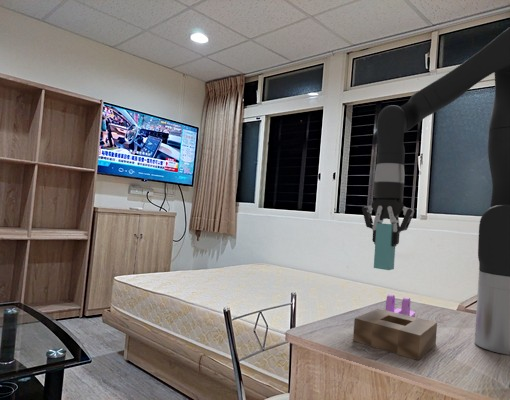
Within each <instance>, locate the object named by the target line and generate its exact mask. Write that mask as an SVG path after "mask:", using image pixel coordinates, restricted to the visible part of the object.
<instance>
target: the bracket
mask: <svg viewBox="0 0 510 400" xmlns="http://www.w3.org/2000/svg"><path fill="white" fill-rule="evenodd" d="M395 305H396V296H395V295H394V294H387V295H386V301H385V310H386V311H391V312H395V313H399V314H403V315H408V316H412V317H416V312H415V311H414V310H411V298H409V297H406V296H404V297H402V301H401V308H399V307H397V308H395Z"/></svg>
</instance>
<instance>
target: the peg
mask: <svg viewBox="0 0 510 400" xmlns="http://www.w3.org/2000/svg"><path fill="white" fill-rule="evenodd" d="M392 226H393V224H391V223H383V222H382V223H376V239H375V244H374V255H373V257H374V259H373V269H378V270H385V271H391V270H394V269H395V257H396V246H395V247H394V246H391V244H392V232H393V229H392Z"/></svg>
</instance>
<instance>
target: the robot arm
mask: <svg viewBox="0 0 510 400" xmlns="http://www.w3.org/2000/svg"><path fill="white" fill-rule="evenodd" d="M492 74H493V75H494V89H495V90H494V98H493V102H492V103H493V104H492V108H491V113H490V119H489V124H488V125H489V126H488V137H487V138H488V141H487V156H488V157H487V158H488V165H489V171H490V175H491V186H492V190H491V192H492V193H491V201H490V206H489V208H487V209H486V210H485V211H484V212H483V213H482V215H481V217H480V220H479V224H478V225H479V226H478V240H477V241H478V244H477V247H478V249H477V259H478V264H479V266H478V284H477V299H476V315H475V327H474V328H475V331H474V344H475V345H476V346H478V347H480V348H482V349H485V350H487V351H490V352H493V353H494V352H495V353H498V354H502V355H510V27H508V28H507V29H505V30H504V31H503V32H501V33H500V34H499V35H498V36H496V37H495V38H494V39H492V40H491V41H490V42H489V43H488V44H486V45H485V46H484V47H483V48H482V49H480V50H479V51H478V52H476V53H474V54H473V55H472V56H471V57H469V58H468V59H467V60H465V61H464V62H462V63H461V64H460V65H458V66H456V67H455V68H453V69H452V70H451V71H449V72H447V73H446V74H444V75H442V76H441V77H439V78H438V79H435V80H434V81H433V82H431V83H429V84H427V85H426V86H423V88H421V89H419V90H417V91H416V92H414V93H413V94H412V95H411V96H410V99H409V100H408V101H407V102H406V103H404V104H403V105H401V106H399V105H395V104H393V105H392V104H391V105H387V106H384V107H383V108H382V109H381V111H379V114H378V116H377V121H376V122H377V123H376V129H377V130H376V131H377V132H376V133H377V135H376V136H377V153H376V155H377V156H376V167H375V170H374V171H375V172H374V179H373V181H374V186H373V201H372V203H371V204H370V205H367V206H362V207H361V211H362V215H363V218H364V221H365V222H364V223H365V226H366V228H369V229H371V230H372V242H373V243H374V245H375V239H376V223H383V222H384V220H389V221H390V224H393V226H392V229H393V232H392V244H391V246H394V247H395V248H396V247H397V245H399V244H400V234H401V233H402V232H404V231H407V230H408V228H409V226H410V223H411V221H412V218H413V216H414V214H415V212H416V211H415V209H414V208H410V207H406V206H405V204H404V188H405V158H406V157H405V154H406V150H405V149H406V148H405V145H404V138H405V137H404V136H405V133H406V132H408V131H409V130H411V129H413V128H414V127H415V126H416V125H418V124H419V123H421V122H422V121H423V120H424V119H425V118H427V117H429V116H431V115H433V114H435V113H436V112H438V111H439V110H441V109H443V108H445V107H446V106H448V105H450V104H451V103H453V102H455V101H456V100H457V99H459V98H460V97H462V95H464V94H465V93H467V91H469V90H470V89H472V88H473V87H474V86H475V85H477V84H478V83H480V82H481V81H482V80H484V79H486V78H487V77H489V76H491V75H492ZM372 212H374V213H375V217H374V220H373V218H372ZM402 212H403V214H402V215H404V217H403V218H402V222H401V223H400V219H399V218H400V217H399V216H400V214H401V213H402Z"/></svg>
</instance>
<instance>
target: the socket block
mask: <svg viewBox="0 0 510 400" xmlns="http://www.w3.org/2000/svg"><path fill="white" fill-rule="evenodd" d="M353 320H354V321H353V335H352V341H353V342H357V343H360V344H364V345H367V346H370V347H373V348H377V349H379V350H383V351H386V352H389V353H393V354H397V355H399V356H403V357H405V358H409V359H413V360H416V361H419V360H421V359H422V357H424V356H425V355H426V354H427V353H428V352H429V351H431V349H433V347H434V346H436V342H437V331H438V330H437V329H438V322H437V321H433V320H428V319H423V318H420V317H416V316H415V317H412V316H408V315H403V314H399V313H395V312H391V311H386V309H381V308H375V309H372V310H371V311H368V312H366V313H364V314H361V315H359V316H356V317H355V318H354V319H353Z"/></svg>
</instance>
